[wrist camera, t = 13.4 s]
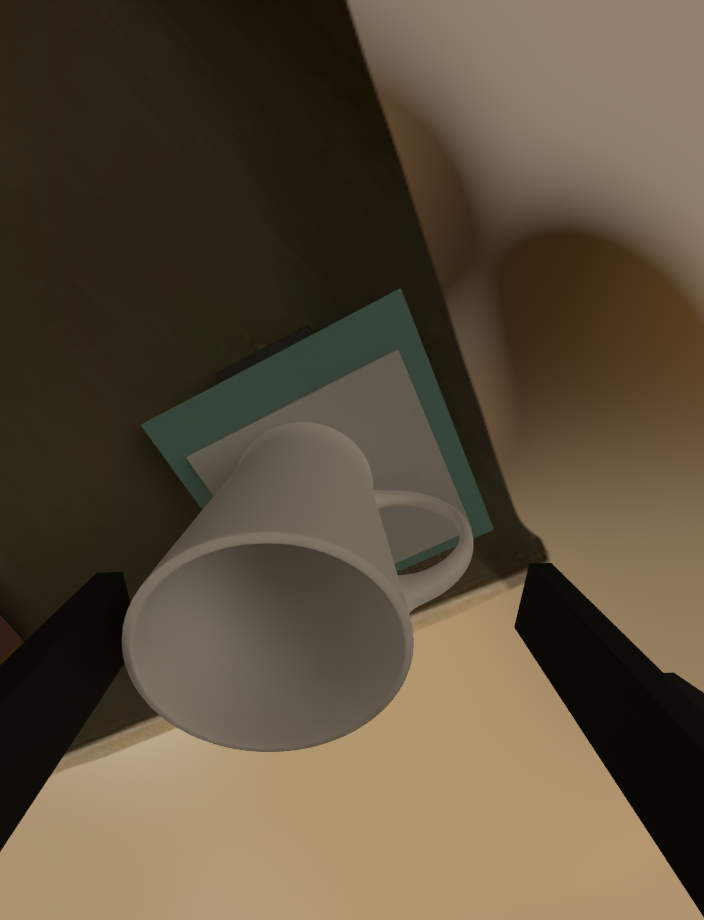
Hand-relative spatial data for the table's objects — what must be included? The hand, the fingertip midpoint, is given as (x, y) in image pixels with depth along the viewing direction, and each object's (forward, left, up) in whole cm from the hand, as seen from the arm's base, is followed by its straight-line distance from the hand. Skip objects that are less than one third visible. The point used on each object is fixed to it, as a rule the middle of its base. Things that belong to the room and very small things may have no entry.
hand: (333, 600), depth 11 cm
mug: (0, 0, -10) cm, 10 cm away
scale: (0, 0, -13) cm, 13 cm away
